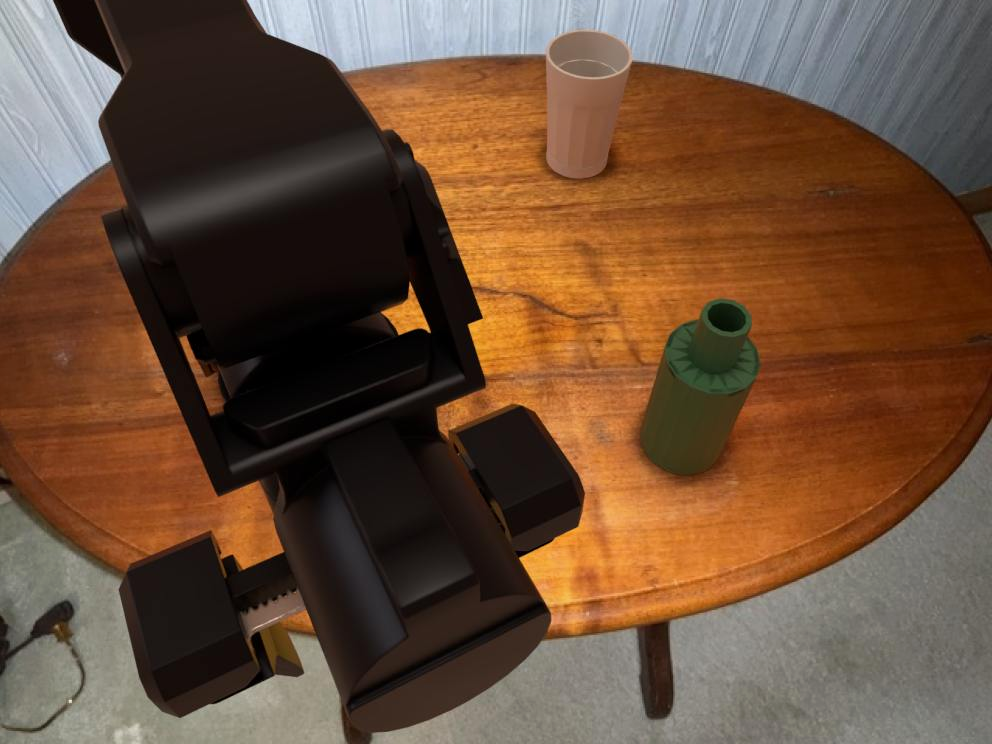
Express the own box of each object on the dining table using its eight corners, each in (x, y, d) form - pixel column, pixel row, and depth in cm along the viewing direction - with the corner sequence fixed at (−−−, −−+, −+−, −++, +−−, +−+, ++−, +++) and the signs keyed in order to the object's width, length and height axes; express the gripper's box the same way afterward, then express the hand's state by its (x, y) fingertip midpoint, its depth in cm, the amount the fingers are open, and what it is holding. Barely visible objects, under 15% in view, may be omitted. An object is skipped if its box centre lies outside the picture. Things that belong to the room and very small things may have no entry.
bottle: (625, 420, 66) (659, 295, 54) (694, 396, 67) (742, 270, 55) (664, 486, 62) (709, 368, 50) (736, 459, 64) (797, 339, 52)
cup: (571, 194, 82) (583, 89, 72) (522, 152, 85) (528, 47, 76) (630, 164, 85) (650, 59, 75) (581, 125, 88) (594, 20, 79)
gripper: (107, 802, 22) (250, 893, 34) (687, 514, 27) (632, 681, 39) (47, 484, 28) (184, 655, 40) (525, 301, 33) (520, 501, 45)
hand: (386, 624), depth 41 cm, fingers open, 9 cm apart
